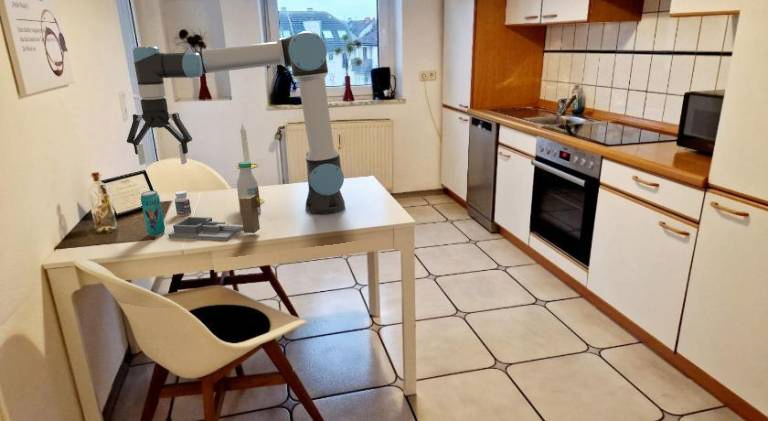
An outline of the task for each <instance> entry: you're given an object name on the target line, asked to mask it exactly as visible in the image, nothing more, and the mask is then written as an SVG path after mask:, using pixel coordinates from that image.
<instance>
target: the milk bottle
mask: <svg viewBox="0 0 768 421" xmlns="http://www.w3.org/2000/svg"><path fill="white" fill-rule="evenodd" d="M251 164H252V162H251V161H250V162H248V161H246V162H244V161H241V162H238V165H237V166H239V169H238V170H239V174H238V178H237V181H236V182H237V183H236V190H237V197H238V198H237V199H238V206H239V213H240V214H241V209H240V201H239V198H241V197H242V196H244V195H256V201H257V209H258V215H260V214H261V213H262V208H261V204H260V199H261V198H260V190H259V184H258V181H257V178H256V176H255V175H254V173H253V171H252V169H251V168H252V167H251Z"/></svg>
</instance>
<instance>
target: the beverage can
mask: <svg viewBox="0 0 768 421" xmlns="http://www.w3.org/2000/svg"><path fill="white" fill-rule="evenodd" d="M140 202H141V206H142V207H141V208H142V212H143V218H144V223H145V227H146V232H147V233H148V235H149V237H153V238H154V237H155V238H156V237H160V236H163V235H164V234H165V231H166V230H165V229H166V226H165V221H164V220H165V219H164V215H163V210H162V206H161V204H162V203H161V200H160V195H159V194H158V191H157V190H148V191H143V192H141V193H140Z"/></svg>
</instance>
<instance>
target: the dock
mask: <svg viewBox="0 0 768 421" xmlns="http://www.w3.org/2000/svg"><path fill="white" fill-rule="evenodd" d="M217 224H226V222H225V221H213V217H205V216H186V217H185V218H183V219H182V220H180V221H178V222H176V223H175V224H172V225H173V226H172V227H173V230H172V231H171V232H169V233H168V234H167V235H168V238H177V239H193V240H195V239H196V240H210V241H211V240H212V241H213V240H215V241H228V240H230V239H231V238H234V237H235V235H237V234H238V233H240V232H241V231H230V230H220V226H215V225H217ZM232 224H233V223H232ZM233 225H242V224H239V223H238V224H237V223H234V224H233Z"/></svg>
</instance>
